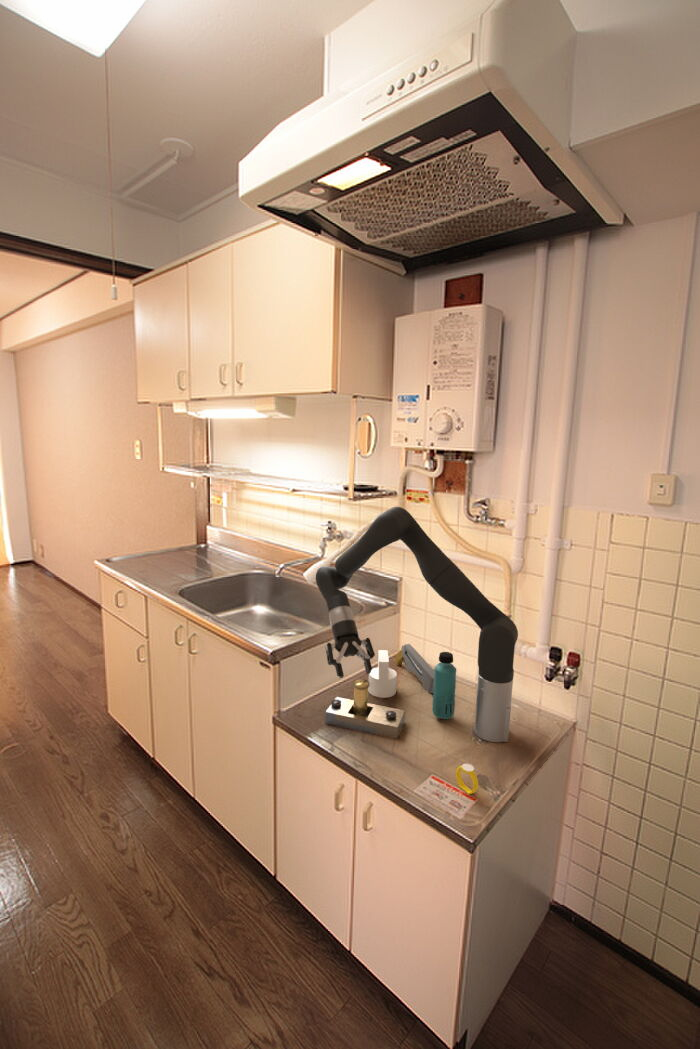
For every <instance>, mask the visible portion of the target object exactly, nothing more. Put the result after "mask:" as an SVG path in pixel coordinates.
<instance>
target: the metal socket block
mask: <svg viewBox="0 0 700 1049" xmlns="http://www.w3.org/2000/svg"><path fill="white" fill-rule="evenodd" d="M353 708H354V699H349V698H343V697H341V696H340V697H339V696H336V697H335V698H334V699H332V700H331V704H330V705H329V707H328V708H327V709H326V711H325V720H324V721H325V724H327V725H331V726H335V727H341V728H343V729H348V730H353V731H358V732H362V733H367V734H371V735H377V736H381V737H386V738H390V739H394V740H398V738H399V735H400V733H401V731H402V729H403V727H404V724H405V721H406V720H405V719H406V718H405V717H406V710H403V709H399V708H394V707H388V706H383V705H379V704H373V703H369V702H368V706H367V717H362V716H357V715H353Z"/></svg>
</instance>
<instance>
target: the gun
mask: <svg viewBox="0 0 700 1049" xmlns="http://www.w3.org/2000/svg"><path fill="white" fill-rule="evenodd" d="M400 648H401V649H400V650H399V651H397V653H396V656H395V665H396V666H398V667H399V666H402V665H403V664H404V665H405V668H406V669H407V671H408V673H414V675H415V676H416V677H417V678H418V680H419V681H420V682H421V683H422V686H423V688H424V690H425V691H426V692H427V693H428V694H433V690H434V676H435V668H432V666H431V665H430V664H429V663H428V662H427V660H425V658H424V657H423V656H422V655H421V654H420V653H419V652H418V651H417V650H416V649H415V647H413V646H412V645H411V643H407V644H403V645H401V647H400Z"/></svg>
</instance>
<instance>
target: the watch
mask: <svg viewBox="0 0 700 1049" xmlns="http://www.w3.org/2000/svg"><path fill="white" fill-rule="evenodd" d="M455 770H456V772H455V777H456V781H457V785H458V786H459V788H461V789H462V790H463V791H464V792H465V793H467V795H472V794H474V793H476V792H477V791H478V788H479V780H478V776H477V774H476V773H475V768H474V766H473V765H472V764H471V763H463V764H462V765H460V766H458V767H457V768H456V769H455ZM462 772H463V773H465V774H468V775H469V776H470V778H471V782H472V789H471V788H470V787H468V786H467V785H466V784H465V783H464V781H463V777H462Z"/></svg>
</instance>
